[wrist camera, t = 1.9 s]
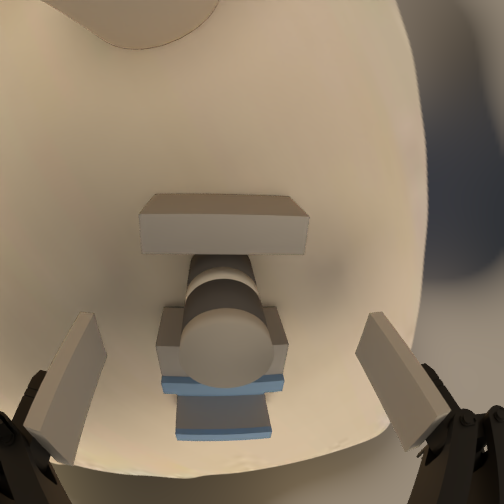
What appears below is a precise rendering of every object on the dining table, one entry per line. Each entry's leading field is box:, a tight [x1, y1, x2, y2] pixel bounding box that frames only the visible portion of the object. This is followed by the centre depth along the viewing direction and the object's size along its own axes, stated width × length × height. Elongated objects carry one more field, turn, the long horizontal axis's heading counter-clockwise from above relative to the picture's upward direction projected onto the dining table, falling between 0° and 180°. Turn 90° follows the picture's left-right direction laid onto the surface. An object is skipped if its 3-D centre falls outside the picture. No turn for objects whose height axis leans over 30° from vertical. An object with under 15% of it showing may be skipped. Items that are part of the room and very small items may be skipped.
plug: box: [179, 254, 274, 388], centre depth 15 cm, size 4×4×8 cm
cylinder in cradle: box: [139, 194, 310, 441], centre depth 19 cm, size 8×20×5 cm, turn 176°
